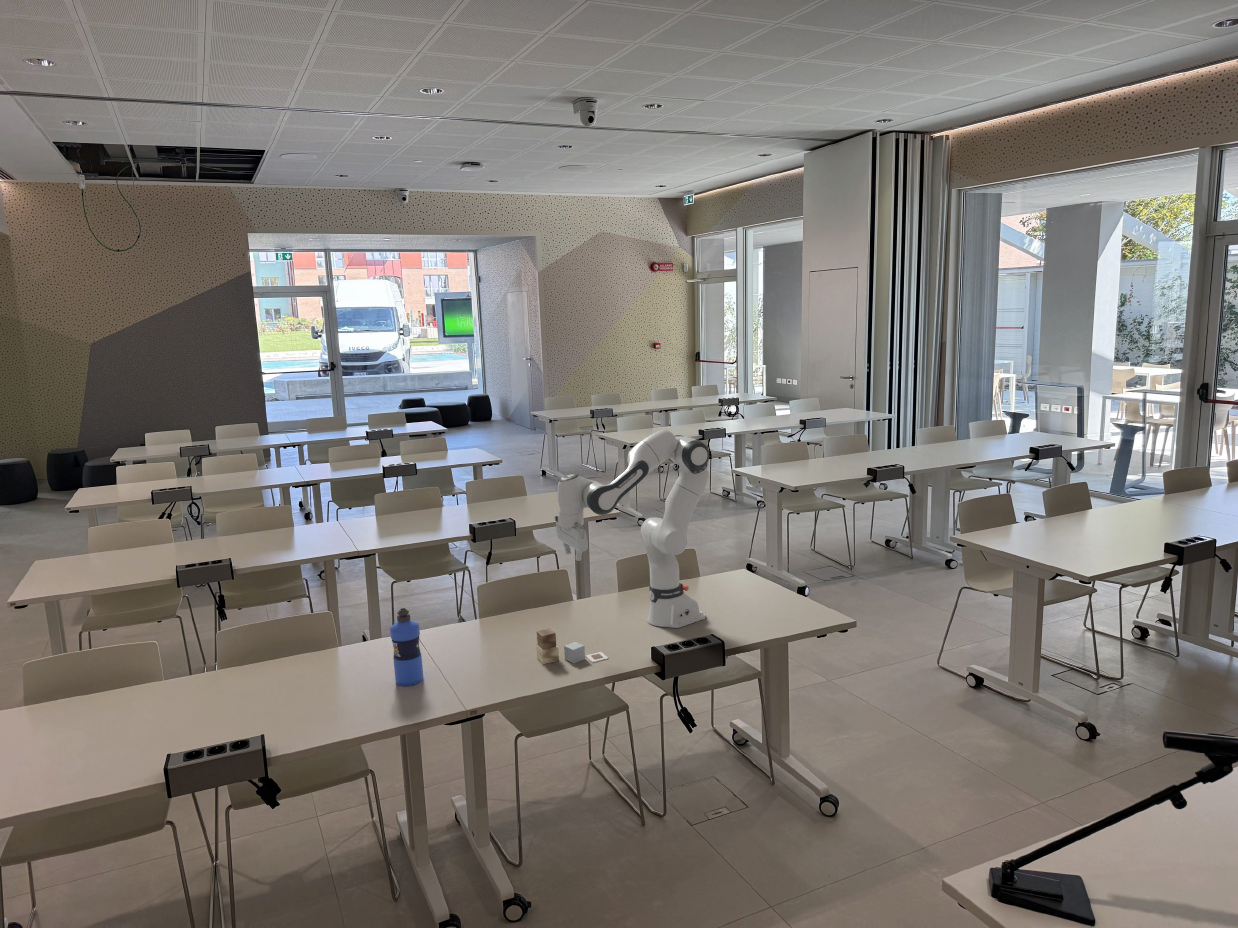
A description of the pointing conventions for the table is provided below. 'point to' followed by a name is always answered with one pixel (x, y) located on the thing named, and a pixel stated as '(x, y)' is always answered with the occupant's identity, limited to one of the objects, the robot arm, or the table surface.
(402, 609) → the water bottle
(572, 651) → the grey block
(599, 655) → the swatch
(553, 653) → the maple base
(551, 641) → the walnut block
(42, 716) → the table surface
